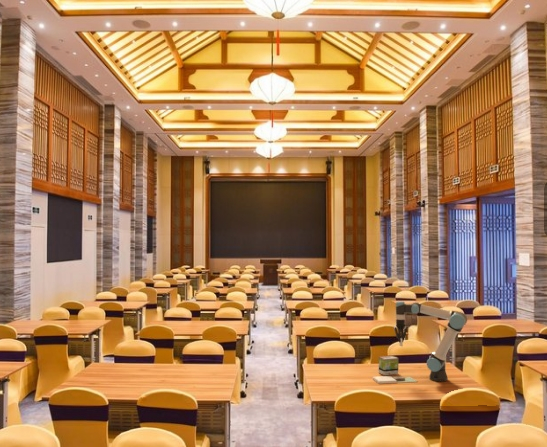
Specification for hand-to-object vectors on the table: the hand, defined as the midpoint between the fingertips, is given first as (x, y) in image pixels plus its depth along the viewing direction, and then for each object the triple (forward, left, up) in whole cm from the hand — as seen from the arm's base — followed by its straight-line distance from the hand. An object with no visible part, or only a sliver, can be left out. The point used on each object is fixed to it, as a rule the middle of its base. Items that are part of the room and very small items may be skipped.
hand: (401, 346), depth 426 cm
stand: (+18, +6, -28) cm, 34 cm away
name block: (+5, +6, -28) cm, 29 cm away
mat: (0, +6, -28) cm, 29 cm away
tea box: (+5, -16, -28) cm, 33 cm away
